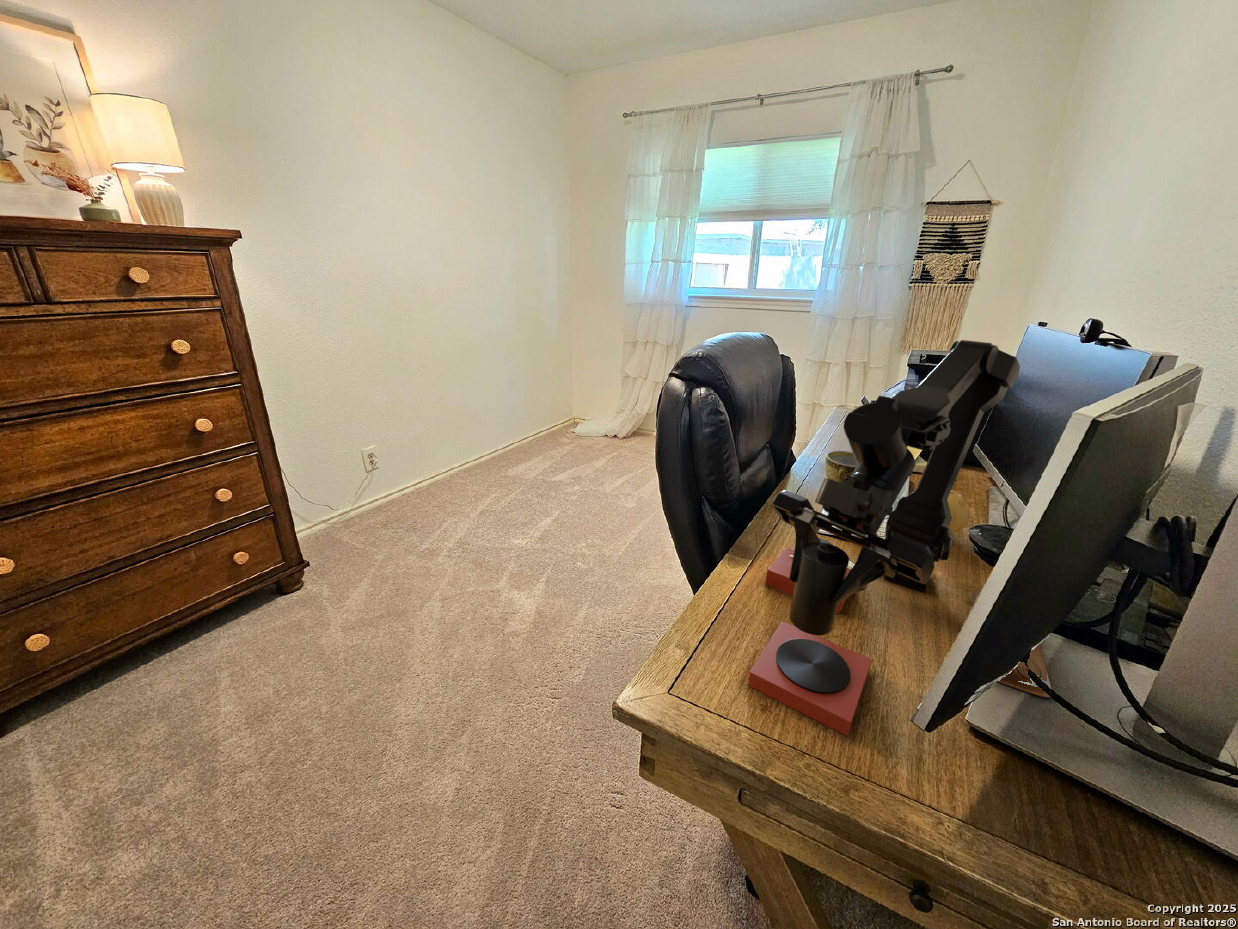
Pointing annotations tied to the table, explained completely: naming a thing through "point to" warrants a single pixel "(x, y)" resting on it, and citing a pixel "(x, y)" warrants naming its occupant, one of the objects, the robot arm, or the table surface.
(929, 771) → the table surface
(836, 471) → the ceramic cup
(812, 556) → the black battery
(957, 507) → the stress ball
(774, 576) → the control panel
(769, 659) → the hot plate
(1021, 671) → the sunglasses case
